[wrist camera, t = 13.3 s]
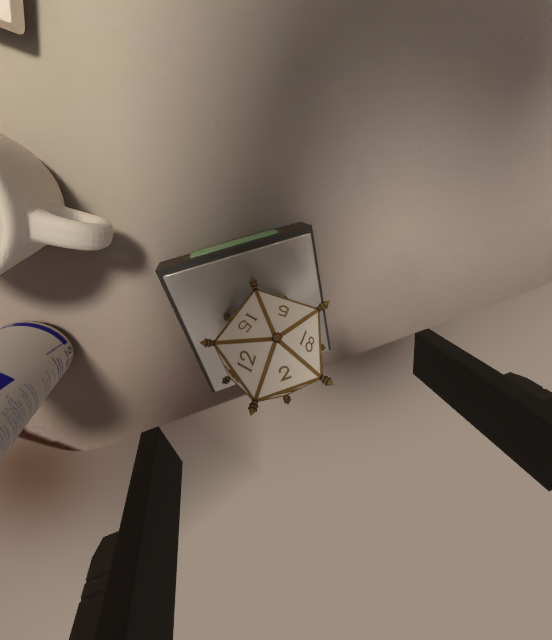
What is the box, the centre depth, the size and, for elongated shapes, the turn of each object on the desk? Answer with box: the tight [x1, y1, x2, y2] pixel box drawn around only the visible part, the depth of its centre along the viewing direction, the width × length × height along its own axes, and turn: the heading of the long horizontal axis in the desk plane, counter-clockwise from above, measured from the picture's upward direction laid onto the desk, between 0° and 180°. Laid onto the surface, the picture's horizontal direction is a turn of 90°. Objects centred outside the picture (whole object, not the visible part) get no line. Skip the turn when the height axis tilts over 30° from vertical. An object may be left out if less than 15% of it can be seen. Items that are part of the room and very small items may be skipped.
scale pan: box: [163, 232, 329, 392], centre depth 22 cm, size 11×11×1 cm
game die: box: [199, 276, 334, 415], centre depth 18 cm, size 9×8×10 cm
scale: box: [156, 222, 331, 392], centre depth 23 cm, size 12×12×2 cm
